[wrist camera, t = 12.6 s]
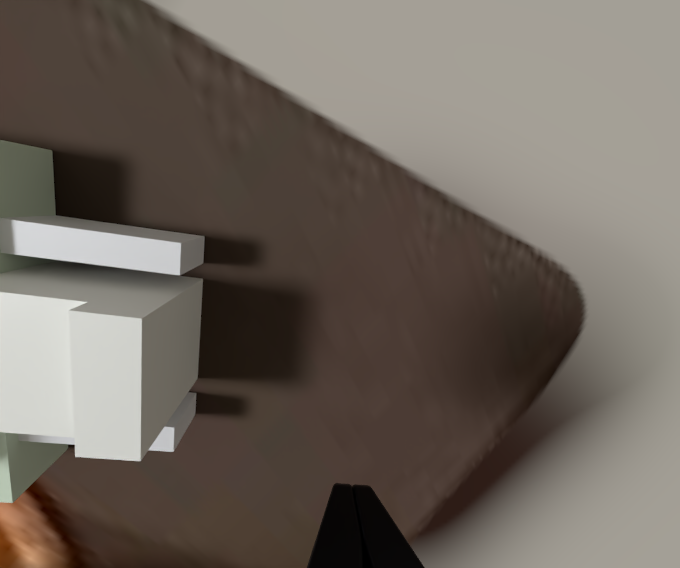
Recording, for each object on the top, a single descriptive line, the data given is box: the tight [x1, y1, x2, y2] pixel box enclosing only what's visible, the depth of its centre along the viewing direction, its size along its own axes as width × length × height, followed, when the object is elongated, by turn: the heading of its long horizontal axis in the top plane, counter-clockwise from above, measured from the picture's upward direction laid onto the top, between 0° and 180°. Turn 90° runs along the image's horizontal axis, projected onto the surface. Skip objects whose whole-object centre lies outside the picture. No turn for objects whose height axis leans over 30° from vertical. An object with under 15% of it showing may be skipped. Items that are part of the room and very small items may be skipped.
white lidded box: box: [0, 260, 203, 461], centre depth 12 cm, size 5×6×5 cm
